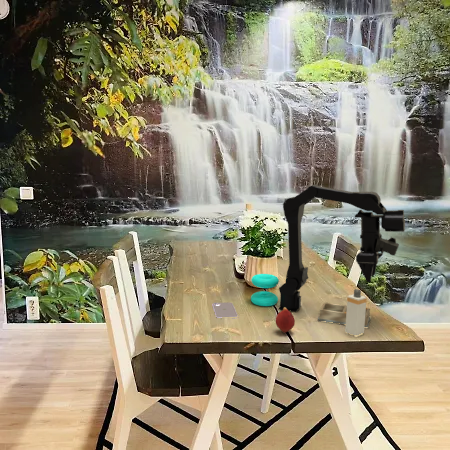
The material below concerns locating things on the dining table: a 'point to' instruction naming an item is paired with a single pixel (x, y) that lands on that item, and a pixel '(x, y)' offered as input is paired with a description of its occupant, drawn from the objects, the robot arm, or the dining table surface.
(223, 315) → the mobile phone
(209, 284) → the dining table surface
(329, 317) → the rack
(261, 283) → the donuts
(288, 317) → the onion
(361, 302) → the bottle
